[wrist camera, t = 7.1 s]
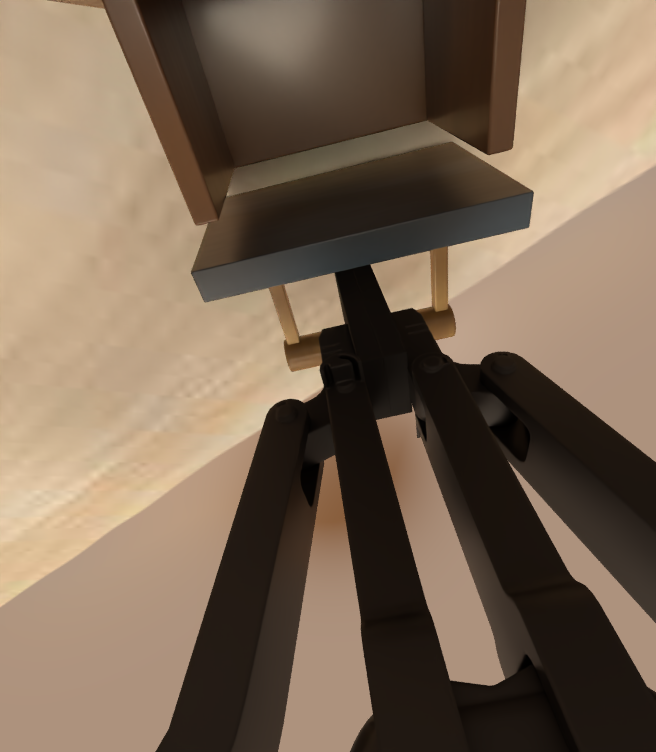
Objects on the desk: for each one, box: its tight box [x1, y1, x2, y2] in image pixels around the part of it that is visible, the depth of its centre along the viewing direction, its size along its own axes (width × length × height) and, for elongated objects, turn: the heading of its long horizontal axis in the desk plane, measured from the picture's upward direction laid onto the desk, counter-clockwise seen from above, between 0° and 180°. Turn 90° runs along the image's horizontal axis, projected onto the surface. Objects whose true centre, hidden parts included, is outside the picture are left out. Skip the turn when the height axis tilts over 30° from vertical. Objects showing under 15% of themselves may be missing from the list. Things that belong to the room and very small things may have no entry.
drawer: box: [101, 0, 534, 372], centre depth 14 cm, size 20×11×8 cm, turn 11°
